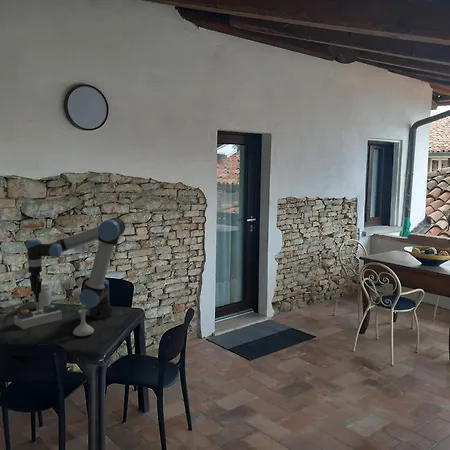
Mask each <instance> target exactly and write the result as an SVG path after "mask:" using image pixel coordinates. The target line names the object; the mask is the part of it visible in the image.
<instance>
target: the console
mask: <svg viewBox="0 0 450 450" xmlns="http://www.w3.org/2000/svg"><path fill="white" fill-rule="evenodd" d="M53 305H54V306H55V307H54V308H49V309H48V308H47V306H44V307H43V310H40V312H37V310H35V311H30V310H29V313H28V314H24V315H21V311H19V312H16V315H13V320H14V325H16V326H17V327H19V328H20V329H22V330H26V329H30V328H33V327H37V326H40V325H44V324H48V323H52V322H57V321H60V320H63V312H62V311H63V310H60V309H59V306H58V305H56V304H53Z"/></svg>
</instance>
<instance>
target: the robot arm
mask: <svg viewBox="0 0 450 450" xmlns="http://www.w3.org/2000/svg"><path fill="white" fill-rule="evenodd" d="M125 231H126V225H125V221H124V220H123V219H121V218H119V217H112V218H109V219H106V220H103V221H102V222H101V223H100V225H98V226H95V227H92V228H90V229H87V230H84V231H81V232H78V233H75V234H73V235H69V236H67V237H64V238H60V239H58V240H56V241H53V242H51V243H42V241H41V240H40V239H30V240H27V246H26V247H27V262H26V263H27V265H28V267H27V269H28V270H27V272H28V273H29V275H28V278H29V283H30V289H31V292H32V294H33V304H34V305H36V299H39V293H41V285H42V282H43V278H41V275H40V273H42V271H43V266H42V264H43V260H42V259H43V258H42V257H51V258H56V257H61V255H62V253H63V252H65V251H69V250H71V249H72V250H73V249H74V248H78V247H81V246H83V245H86V244H89V243H92V242H95V241H98V245H97V250H96V254H95V257H94V260H93V263H92V267H91V271H90V274H89V277H88V280H86V281H85V283H84V285H83V290H81V291H80V292H79V293H80V296H79V298H78V301H79V303H80V304H81V305H83V304H84V303H85V308H87V309H88V310H87V317H88V318H89V319H93V320H102V319H108V318H110V317H112V316H113V315H114V313H113V312H114V311H113V308H112V305H111V303H110V302H111V301H110V284H109V283H110V282H109V280H108V279H106V274H107V271H108V268H109V264H110V261H111V257H112V255H113V254H112V253H113V250H114V247H116V246H117V245H118V243H119V239H120V237H121V236H122V235H123V234H124V233H125Z"/></svg>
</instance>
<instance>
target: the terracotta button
mask: <svg viewBox="0 0 450 450" xmlns="http://www.w3.org/2000/svg"><path fill="white" fill-rule="evenodd" d="M29 311H30V310H29V309H28V308H24V309H21V310H20V312H21V315H24V314H28V313H29Z"/></svg>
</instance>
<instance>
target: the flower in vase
mask: <svg viewBox="0 0 450 450" xmlns="http://www.w3.org/2000/svg"><path fill="white" fill-rule="evenodd" d="M80 293H81V292H75V293H74V295H73V296H71V297H70V300H69V302H68V303H69V305H74V303H75V302H77V304H78V306H76V307H74V309H73V312H75V311H77V312H78V313H79V316H80V324H79V325H78V326H76V327H75V328H74V329H73V331H72V334H73V335H74V336H77V337H86V336H87V337H88V336H89V335H92V334H94V332H95V328H93V327H92V326H90V325H89V324H87V322H86V313H88V309H85V308H86V307H85V303H84V304H83V305H82V304H81V305H80V302H79V296H80Z"/></svg>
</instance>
